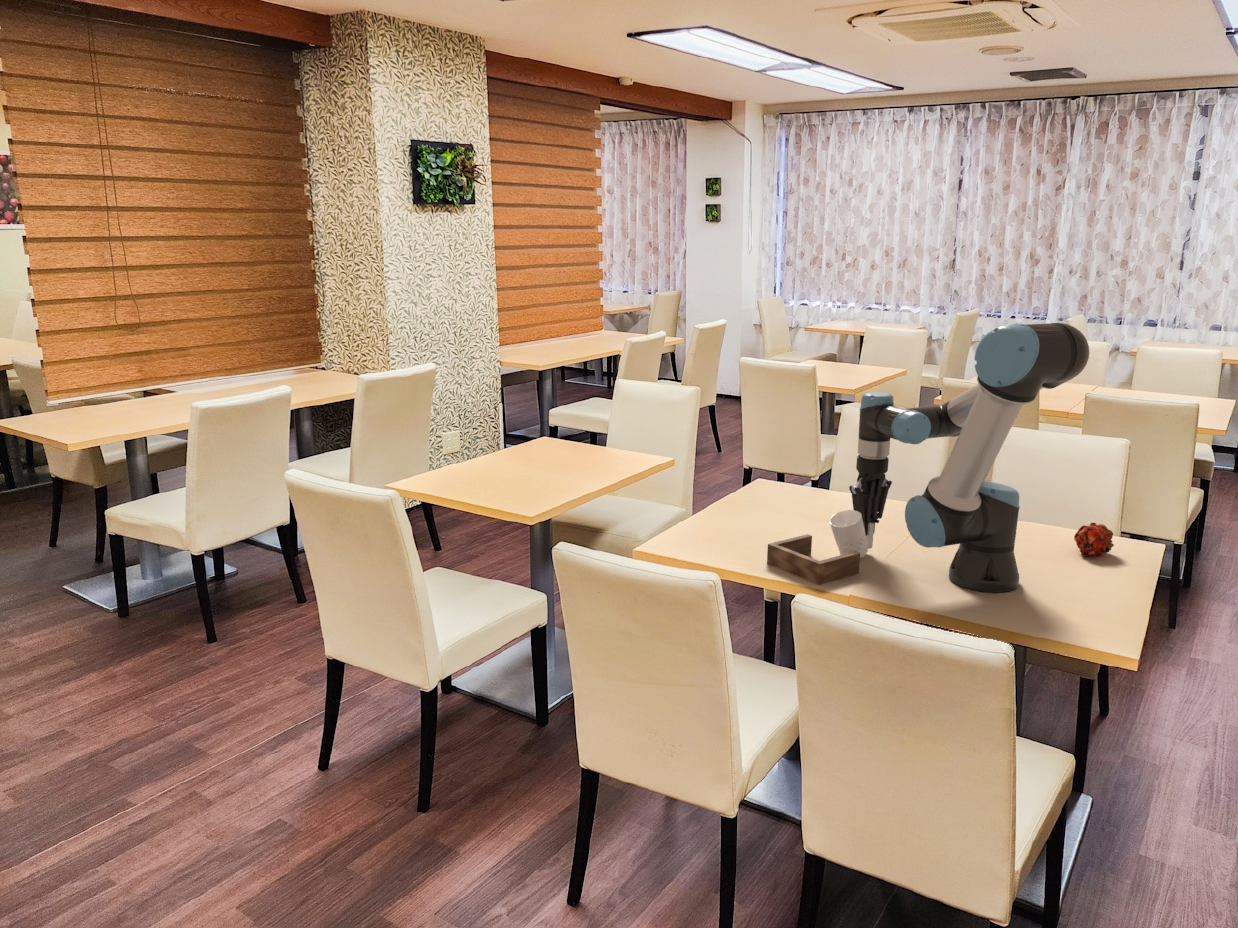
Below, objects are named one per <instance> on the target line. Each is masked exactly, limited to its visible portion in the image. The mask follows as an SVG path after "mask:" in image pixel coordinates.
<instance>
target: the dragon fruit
mask: <svg viewBox="0 0 1238 928" xmlns="http://www.w3.org/2000/svg"><path fill="white" fill-rule="evenodd" d="M1113 536H1114V533H1113V531H1112V530H1111V529H1109V528H1108V527H1107V526H1106V525H1105V524H1102V523H1099V524H1097V523H1096V522H1090V523H1089V524H1088V525H1082V526H1080V527H1079V528H1078V530H1077V531H1076V533H1075V534H1074V537H1073V540H1074V541H1075V542H1076V543H1075V544H1076V546H1077V548H1078V549H1079V552H1080V553H1081V555H1082V556H1083V557H1090V556H1098V557H1102V556H1104V555H1106V554H1107V553H1110V551H1111V550H1112V548H1113V547H1114V545H1115V544H1114V543H1113Z"/></svg>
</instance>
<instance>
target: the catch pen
mask: <svg viewBox="0 0 1238 928" xmlns="http://www.w3.org/2000/svg"><path fill="white" fill-rule="evenodd" d="M812 544H813V536H812V535H811V534H803V535H799V536H796V537H791V538H787V539H782V540H778V541H774V542H769V543H767V552H766V553H767V554H766V558H767V559H766V564H767V565H770V566H773V567H775V568H777V569H779V570H781V571H783V572H787V573H789V574H791V575H793V576H796V577H799V578H801V579H803V580H805V581H806V580H807V581H808V582H811V583H814V584H815V585H818V586H819V585H822V584H826V583H829V582H833V581H836V580H840V579H844V578H847V577H851V576H854V575H857V574H860V560H861V558H860V553H859V552H856V551H855V552H851V553H847V554H844V555H840V554H839V555H837V556H834V557H829V558H825V559H823V560H822V559H821V560H818V559H815V558H814V557H813V558H812V557H810V556H812V547H813V546H812Z"/></svg>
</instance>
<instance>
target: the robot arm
mask: <svg viewBox="0 0 1238 928" xmlns="http://www.w3.org/2000/svg"><path fill="white" fill-rule="evenodd" d="M1087 340H1088V339H1086V336H1085V335H1084V334H1083V332H1081V330H1080V329H1078V328H1076V327H1074V326H1072V325H1071V324H1067V323H1064V322H1051V323H1050V322H1049V323H1031V324H1029V323H1028V324H1023V323H1011V324H1007V325H1001V326H997V327H995V328H992V329H991V330H990V331H989V332H987V333H986V334H985V335H984V336H983V337H982V338H981V339H980V341H979V343H978V345H977V346H976V349H975V354H974V361H976V364H974V368H975V372H976V374H977V377H976V381H977V384H976V385H974V386H972V387H970V388H969V389H967V390H965V391H963V392H962V393H960V394H959V395H957V396H955V397H953V398H951V399H949V400H948V401H946V402H944V403H942V404H938V405H931V406H929V405H928V406H919V407H908V408H907V407H902V406H897V405H894V402H895V401H894V396H893V395H892V394H891V393H889V392H884V391H882V392H881V391H871V392H870V391H869V392H865V393H863V395H862V396H861V400H860V407H859V422H858V442H857V444H858V445H857V454H858V455H857V457H856V471H857V472H858V476H857V479H856V483H855V484H854V485H851V484H850V485H849V488H848V490H849V491H850V493H851V500H852V506H853V507H852V508H853V509H852V510H856V511H859V512H860V513H861V514H862V518H863V523H864V528H865V534H866V540H867V541H866V543H867V548H868V550H870V549H873V547H874V543H873V542H874V534H875V532H876V531H875V529H876V524H879V523H880V519H881V520H882V518H883V514H884V511H885V506H886V502H887V498H888V493H889V490H890V488H891V486H892V483H893V481H892V480H889V479H887V478H886V473H887V472H888V469H889V461H890V459H889V457H888V456H889V455H890V451H891V449H890V448H891V439H893V440H896V441H899V442H901V443H903V444H911V445H920V444H921V443H923V442H924V441H926V439H927V440H928V439H936V438H947V437H948V438H949V437H950V438H951V437H953V438H954V437H957V439H956V440H955V443H954V445H953V447H952V450H951V451H950V453H949V456H948V458H947V460H946V462H945V464H944V466H943V468H942V470H941V473H940V475H939V476H934V477H933V478H930V480H929V481H928V484H927V486H926V488H925V489H924V492H923V494H921V495H920V494H919V495H914V496H913V497H910V498H909V499H908V501H907V502H906V504H905V509H904V520H905V524H906V528H907V531H908V532H909V533H908V534H909V535H910V536H911V537H912V539H913V540H914V541H915V542H916V544H918V545H919V546H922V547H923V548H927V549H928V548H930V549H931V548H938V549H940V548H943V547H947V546H954V545H955V546H956V545H958V548H957V550H956V553H955V555H954V556H953V559H952V561H951V562H950V565H949V569H948V578H949V580H950V581H951V582H952V583H954V584H956V585H958V586H959V587H960V586H961V587H963V588H966V589H969V590H974V591H978V592H985V593H986V592H987V593H1005V592H1010V591H1014V590H1016V589H1017V588H1019V585H1020V573H1019V570H1018V565H1017V560H1016V556H1015V543H1016V535H1017V528H1018V520H1019V514H1020V513H1019V512H1020V494H1019V492H1018V490H1016V489H1015V488H1013V486H1012V487H1011V486H1009V485H1005V484H1001V483H997V482H993V481H987V480H986V479H987V476H988V474H989V473H990V470H991V468H992V467H993V465H994V462H995V461H996V459H997V457H998V455H999V453H1000V450H1001V448H1002V447H1003V445H1004V443H1005V441H1006V439H1007V437H1008V435H1009V433H1010V430H1011V429H1012V427H1013V425H1014V423H1015V421H1016V420H1017V417H1018V416H1019V413H1020V411H1021V409H1022V407H1023V405H1027V404H1030V403H1032V402H1034V400H1035V399H1036V398H1037V396H1038V393H1039V392H1040V391H1041V390H1043V389H1047V390H1052V389H1055V388H1057V387H1059V386H1060V385H1063V384H1065V383H1067V382H1068V381H1071V380H1073V379H1074V378H1076V377H1078V376H1080V375H1079V374H1081V373H1082V372H1083V370H1084V369H1085V368H1086V366H1087V365H1088V361H1089V359H1090V346H1089V342H1088V341H1087Z"/></svg>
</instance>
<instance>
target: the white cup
mask: <svg viewBox="0 0 1238 928" xmlns="http://www.w3.org/2000/svg"><path fill="white" fill-rule="evenodd" d="M829 525H830V527H831V530H832V534H833V538H834V540H835V543H836V544H835V545H836V546H837V548H838V551H839V556H840V555H844V554H847V553H851V552H855V551H856V552H859V553H860V559H861V558H863V557H864V556H866V554H867V553H868V551H869V549H868V548H867V543H866V541H867V540H866V534H865V528H864V523H863V518H862V514H861V513H860V512H859V511H856V510H853V509H845V510H841V511H838V512H836V513H835V514H833V515H832V516H831V517H830V519H829Z"/></svg>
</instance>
